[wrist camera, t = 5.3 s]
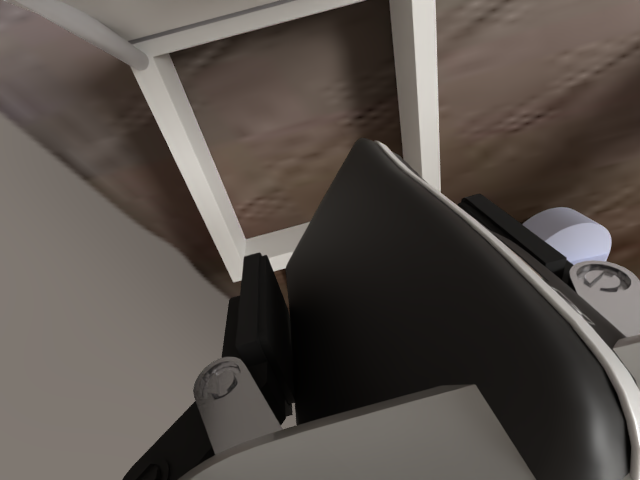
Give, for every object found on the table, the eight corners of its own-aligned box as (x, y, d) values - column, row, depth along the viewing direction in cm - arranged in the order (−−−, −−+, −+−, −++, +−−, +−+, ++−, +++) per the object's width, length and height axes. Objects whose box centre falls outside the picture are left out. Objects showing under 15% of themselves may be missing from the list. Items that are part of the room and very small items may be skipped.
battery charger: (351, 293, 16) (476, 665, 7) (280, 269, 15) (306, 691, 5) (438, 168, 14) (870, 502, 4) (360, 125, 12) (721, 473, 3)
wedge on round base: (563, 294, 41) (593, 199, 34) (612, 335, 35) (659, 231, 28) (493, 310, 41) (509, 217, 34) (531, 354, 35) (559, 254, 28)
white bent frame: (402, -107, 20) (1132, -834, 3) (422, 204, 31) (606, 399, 15) (109, -29, 20) (-706, -368, 3) (236, 255, 31) (207, 510, 15)
